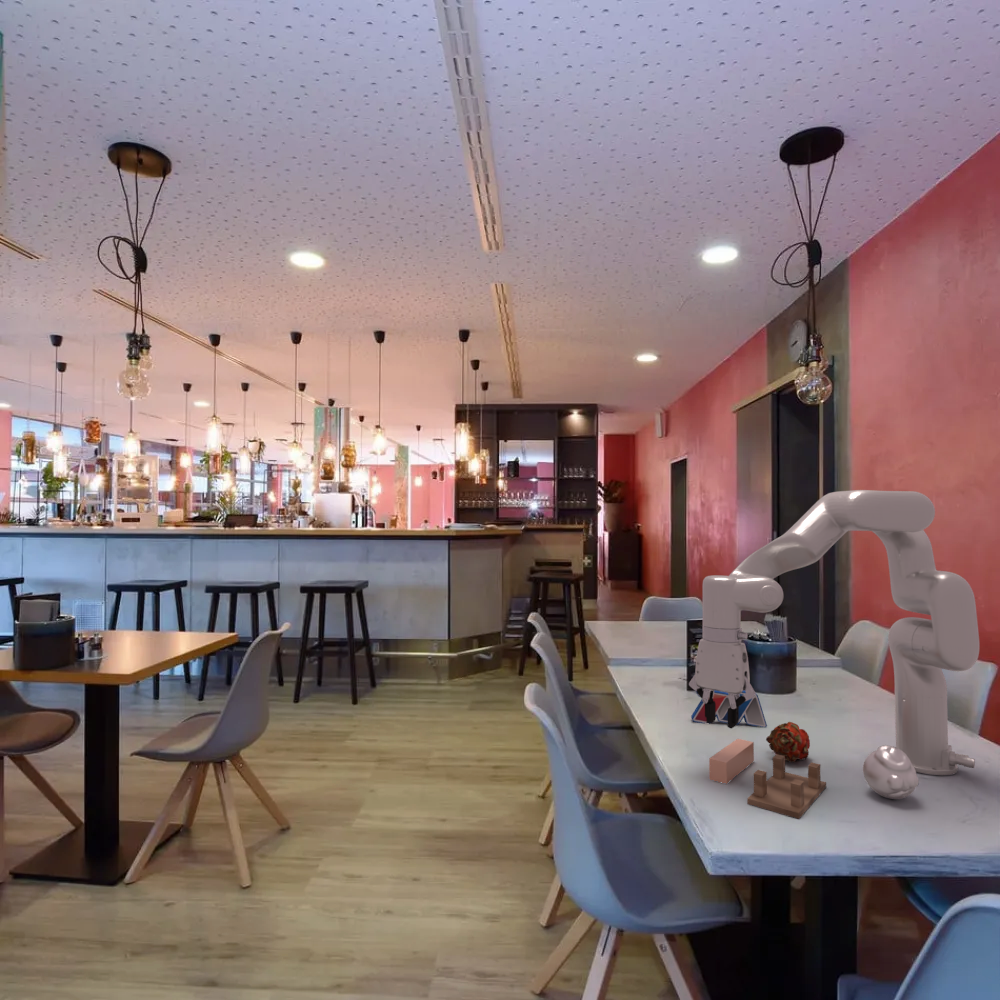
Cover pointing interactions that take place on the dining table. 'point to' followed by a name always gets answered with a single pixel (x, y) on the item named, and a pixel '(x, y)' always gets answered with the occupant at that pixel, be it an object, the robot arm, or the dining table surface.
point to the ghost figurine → (890, 772)
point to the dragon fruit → (789, 741)
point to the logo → (747, 710)
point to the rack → (786, 789)
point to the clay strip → (731, 760)
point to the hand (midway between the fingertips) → (721, 723)
